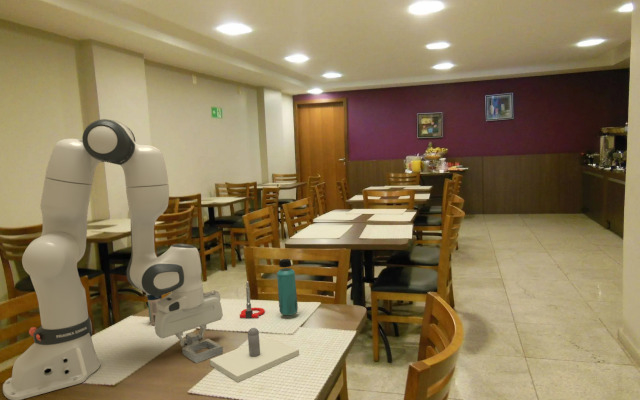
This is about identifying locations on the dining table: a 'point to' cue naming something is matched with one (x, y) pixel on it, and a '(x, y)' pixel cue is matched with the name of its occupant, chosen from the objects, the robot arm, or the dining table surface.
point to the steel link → (195, 346)
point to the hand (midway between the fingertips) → (192, 342)
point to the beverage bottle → (287, 288)
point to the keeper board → (253, 357)
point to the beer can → (152, 307)
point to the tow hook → (249, 311)
